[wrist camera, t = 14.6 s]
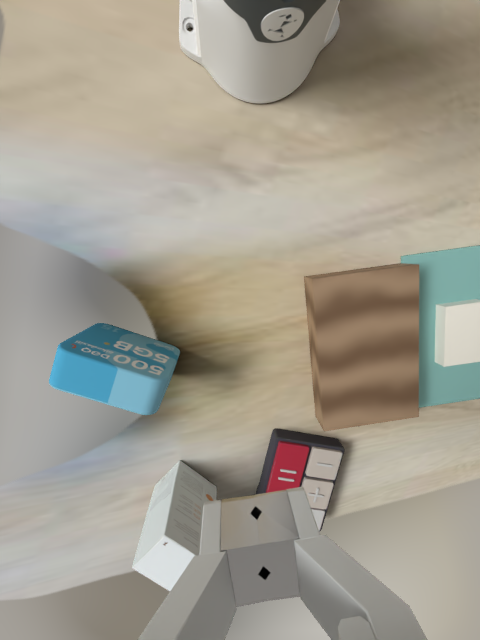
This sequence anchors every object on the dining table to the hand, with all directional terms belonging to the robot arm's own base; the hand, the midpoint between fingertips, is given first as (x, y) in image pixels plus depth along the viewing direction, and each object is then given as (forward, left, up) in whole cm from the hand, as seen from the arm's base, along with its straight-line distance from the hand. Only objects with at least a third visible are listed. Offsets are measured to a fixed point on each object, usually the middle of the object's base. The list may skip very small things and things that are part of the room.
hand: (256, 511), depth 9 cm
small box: (+28, -11, -34) cm, 46 cm away
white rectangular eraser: (+8, +33, -33) cm, 47 cm away
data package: (+4, -14, -34) cm, 37 cm away
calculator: (+29, +7, -35) cm, 46 cm away
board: (+8, +18, -34) cm, 39 cm away
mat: (+8, +31, -34) cm, 47 cm away
